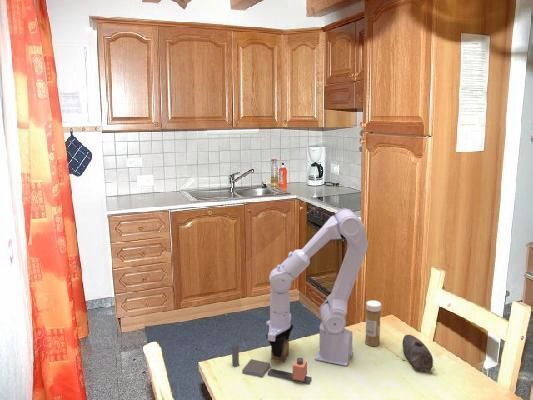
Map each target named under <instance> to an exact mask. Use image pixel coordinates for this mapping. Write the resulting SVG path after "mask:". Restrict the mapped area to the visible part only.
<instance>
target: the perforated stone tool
mask: <svg viewBox="0 0 533 400" xmlns="http://www.w3.org/2000/svg"><path fill="white" fill-rule="evenodd" d="M402 349H403V352H404V354H405V356H406V358H407V359H408V361H409V363H410V365H411V366H412V367H414V368H415V369H416V370H417V371H424V372H425V371H426V372H428V371H431V370H432V368H433V365H434V358H433V355H432V353H431V351H430V350H429V348H428V347H427V346H426V345H425V344H424V342H422V341H421V340H420V339H419V338H417V337H415V336H414V335H413V334H405V335H404V337H403V338H402Z"/></svg>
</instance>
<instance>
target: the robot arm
mask: <svg viewBox="0 0 533 400" xmlns="http://www.w3.org/2000/svg"><path fill="white" fill-rule="evenodd" d="M341 235H342V236H343V237H344V238H345V239H346V242H347V243H348V247H347V250H346V252H345V255H344V258H343V260H342V264H341V265H340V268H339V272H338V274H337V277H336V279H335V282H334V284H333V288H332V290H331V293H330V294H329V295H327V297H326V299H325V301H324V302H323V303H322V304H321V305H320V307H319V309H318V311H319V315H320V317H321V320H322V321H321V323H320V325H319V345H318V346H319V347H318V348H319V350H318V352H317V354H316V356H315V358H314V360H315V361H319V362H325V363H329V364H335V365H341V366H345V367H346V366H348V365H349V363H350V360H351V358H352V355H353V331H352V330H349V329H347V328H346V325H347V323H346V321H347V320H346V316H347V313H348V302H349V298H350V296H351V293H352V291H353V287H354V286H355V282H356V280H357V277H358V275H359V272H360V270H361V267H362V264H363V262H364V259H365V256H366V254H367V252H368V248H369V241H368V237H367V232H366V226H365V225H364V223H363V221H362V220H361V218H359V217H358V216H357V215H356V214H355V213H354V211H352V210H351V209H349V208H340V209H339V210H337V211H336V212H335V213H334V215H331V216H330V217H329V218H328V219H327V220H326V222H325V223H324V224H323V226H322V227H321V228H320V229H319V230H318V231H317V232H316V233H315V234H314V235H313V237H311V239H310V240H308V241H307V243H306V244H305V245H304V246H303V247H302V248H301V249H295V250H294V251H290V252H289V253H288V257H286V259H284V261H282V263H281V264H277V265H276V267H274V268H273V269H272V270H271V271H270V273H269V276H268V279H269V284H270V285H269V286H270V288H269V290H270V291H269V292H270V294H269V315H270V316H269V320H267V321H266V322H265V323H266V326H269V328H268V329H269V330H268V332H267V333H266V335H265V336H266V339H267V341H268V342H269V345H270V349H271V348H272V351H273V355H274V356H275V357H281V355H282V349H283V343H284V341H285V339H286V340H289V341H290V335H291V333H292V331H293V328H294V324H292V323H291V320H292V313H291V308H290V307H291V299H290V298H291V297H290V289H291V286H292V281H294V280H296V279H297V278H298V277H299V276H300V275H301V273H303V271H304V270H306V269H307V267H309V265H310V264H311V260H310V259H311V257H312V256H314V255H315V254H316V253H317V252H318V251H319V250H320V249H322V248H323V247H324V246H325V245H326V244H327V243H328V242H330V240H342V238H343V237H341Z"/></svg>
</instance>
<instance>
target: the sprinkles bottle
mask: <svg viewBox="0 0 533 400" xmlns="http://www.w3.org/2000/svg"><path fill="white" fill-rule="evenodd" d="M365 309H366V310H365V311H366V313H365V314H366V316H365V340H364V342H365V344H366V345H367V346H370V347H377V346H379V345H380V343H381V340H380V337H381V336H380V335H381V312H382V303H381V302H380V301H377V300H368V301H367V302H366V303H365Z"/></svg>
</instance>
